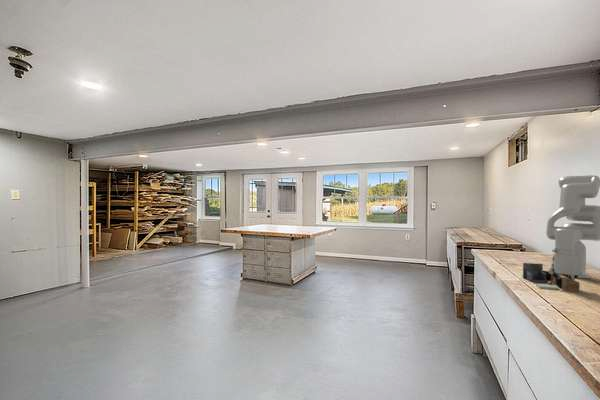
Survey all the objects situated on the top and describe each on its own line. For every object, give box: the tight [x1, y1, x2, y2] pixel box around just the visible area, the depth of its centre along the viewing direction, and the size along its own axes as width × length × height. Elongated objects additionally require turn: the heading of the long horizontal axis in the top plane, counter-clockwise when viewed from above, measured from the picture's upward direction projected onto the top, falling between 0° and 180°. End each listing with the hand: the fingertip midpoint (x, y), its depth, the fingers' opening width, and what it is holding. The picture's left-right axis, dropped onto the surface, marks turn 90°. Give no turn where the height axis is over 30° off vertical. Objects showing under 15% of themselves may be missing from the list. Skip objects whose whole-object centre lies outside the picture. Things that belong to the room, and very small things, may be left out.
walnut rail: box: [550, 275, 580, 294], centre depth 149 cm, size 16×4×5 cm, turn 164°
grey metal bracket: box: [522, 262, 547, 284], centre depth 160 cm, size 7×9×9 cm
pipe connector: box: [543, 270, 569, 281], centre depth 163 cm, size 12×5×15 cm
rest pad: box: [536, 283, 560, 291], centre depth 148 cm, size 4×8×1 cm, turn 72°
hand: (564, 286), depth 149 cm, fingers closed on walnut rail, 4 cm apart
